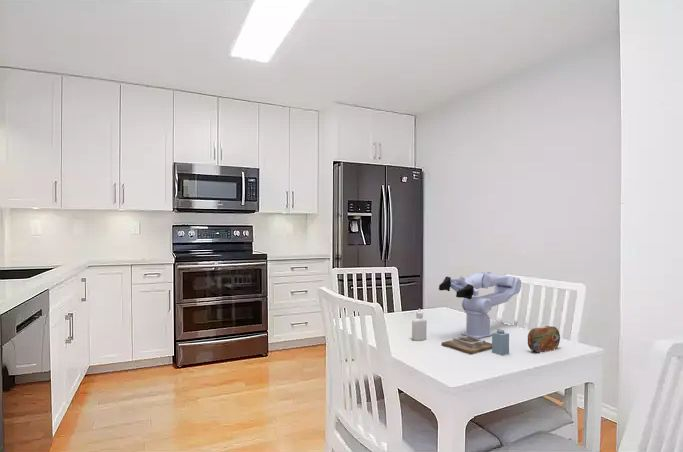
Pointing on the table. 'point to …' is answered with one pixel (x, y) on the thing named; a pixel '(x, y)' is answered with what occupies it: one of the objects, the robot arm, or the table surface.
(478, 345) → the dock
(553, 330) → the tin
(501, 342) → the peg
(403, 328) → the table surface
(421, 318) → the eye dropper bottle
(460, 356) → the table surface
